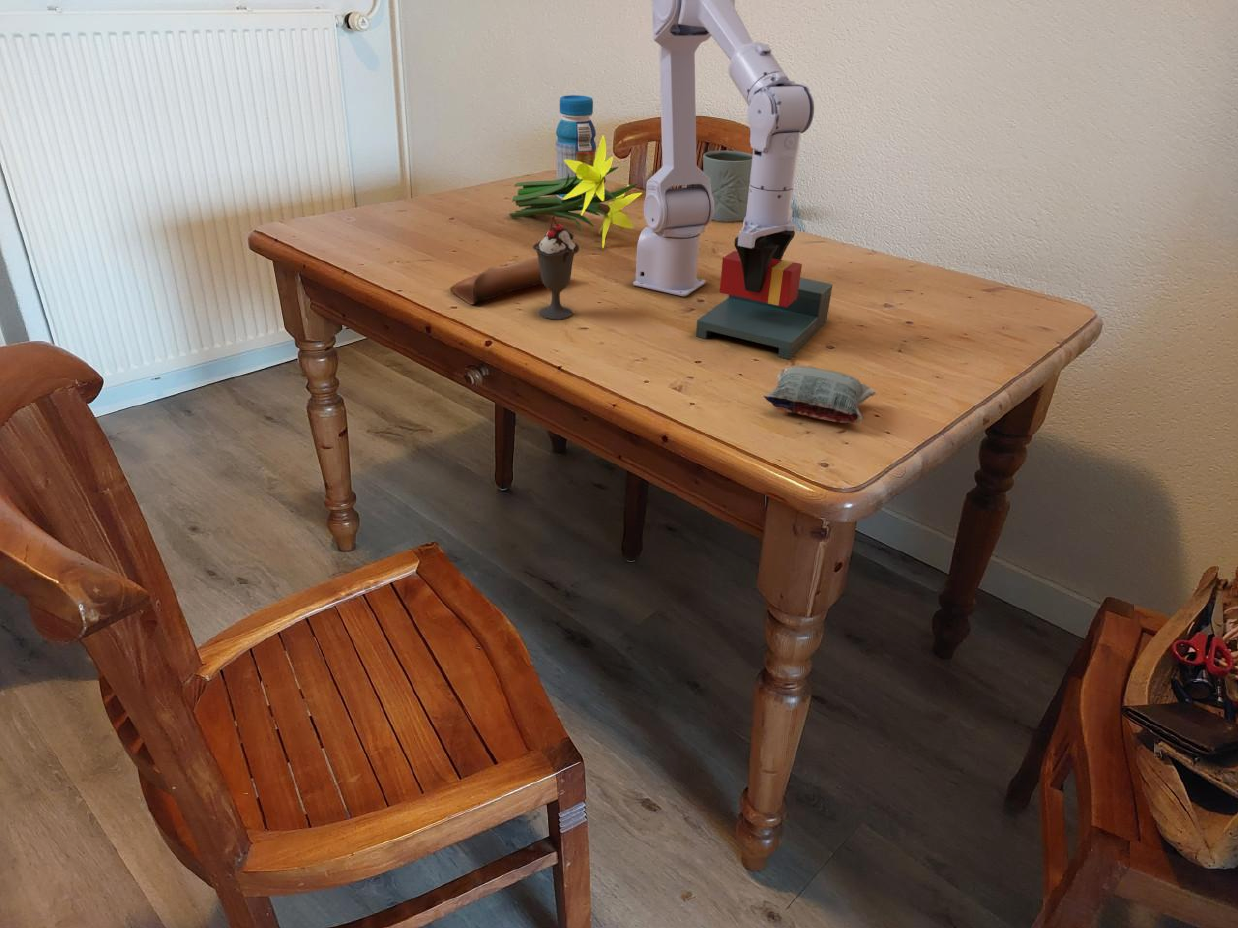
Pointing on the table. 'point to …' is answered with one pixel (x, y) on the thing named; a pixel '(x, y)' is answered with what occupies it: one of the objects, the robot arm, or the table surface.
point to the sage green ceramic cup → (728, 183)
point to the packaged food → (819, 394)
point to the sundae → (556, 267)
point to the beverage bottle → (575, 134)
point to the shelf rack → (771, 318)
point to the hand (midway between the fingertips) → (759, 286)
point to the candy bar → (776, 286)
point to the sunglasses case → (498, 281)
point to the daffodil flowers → (584, 181)
